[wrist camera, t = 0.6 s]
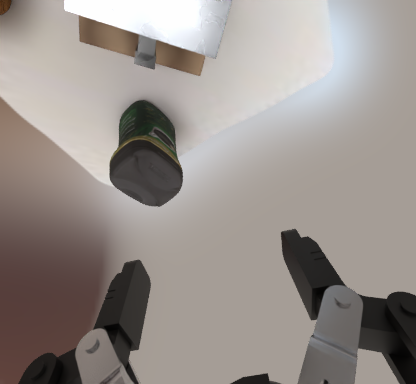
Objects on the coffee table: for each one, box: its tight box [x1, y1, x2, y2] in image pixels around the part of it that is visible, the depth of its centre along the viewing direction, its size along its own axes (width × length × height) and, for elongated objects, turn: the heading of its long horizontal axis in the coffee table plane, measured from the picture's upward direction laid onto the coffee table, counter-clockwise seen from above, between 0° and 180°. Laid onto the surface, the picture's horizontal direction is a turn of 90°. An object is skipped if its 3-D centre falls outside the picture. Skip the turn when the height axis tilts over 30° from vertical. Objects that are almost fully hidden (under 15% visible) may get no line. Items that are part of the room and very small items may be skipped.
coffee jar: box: [110, 101, 183, 207], centre depth 36 cm, size 10×8×19 cm
